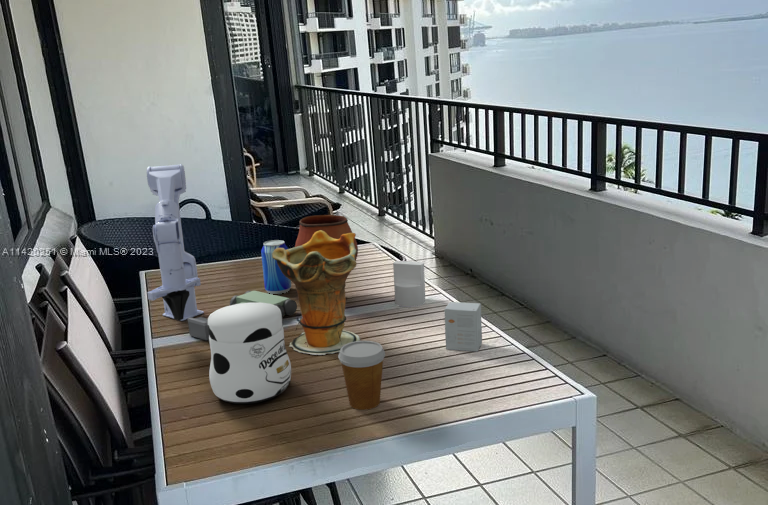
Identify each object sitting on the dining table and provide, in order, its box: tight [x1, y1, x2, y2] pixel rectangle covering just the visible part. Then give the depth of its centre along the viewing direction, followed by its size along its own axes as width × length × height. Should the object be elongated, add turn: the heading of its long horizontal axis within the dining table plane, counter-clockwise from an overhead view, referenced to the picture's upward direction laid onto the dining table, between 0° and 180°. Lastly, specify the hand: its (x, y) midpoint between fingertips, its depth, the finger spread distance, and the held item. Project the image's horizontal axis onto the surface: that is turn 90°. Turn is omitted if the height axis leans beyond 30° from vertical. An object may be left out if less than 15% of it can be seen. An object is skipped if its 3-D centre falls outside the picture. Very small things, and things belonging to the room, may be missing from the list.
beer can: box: [260, 239, 292, 295], centre depth 216 cm, size 8×8×16 cm
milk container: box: [207, 302, 292, 405], centre depth 146 cm, size 17×17×18 cm
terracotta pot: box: [294, 214, 359, 262], centre depth 205 cm, size 19×19×25 cm
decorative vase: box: [272, 230, 361, 356], centre depth 171 cm, size 21×23×28 cm
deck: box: [229, 290, 298, 319], centre depth 197 cm, size 18×14×4 cm
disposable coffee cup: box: [337, 340, 386, 411], centre depth 140 cm, size 10×10×12 cm
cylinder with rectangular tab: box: [392, 260, 426, 308], centre depth 200 cm, size 9×9×12 cm
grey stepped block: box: [187, 316, 209, 341], centre depth 184 cm, size 7×10×5 cm
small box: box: [443, 301, 483, 353], centre depth 166 cm, size 8×6×10 cm
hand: (178, 319), depth 176 cm, fingers closed
